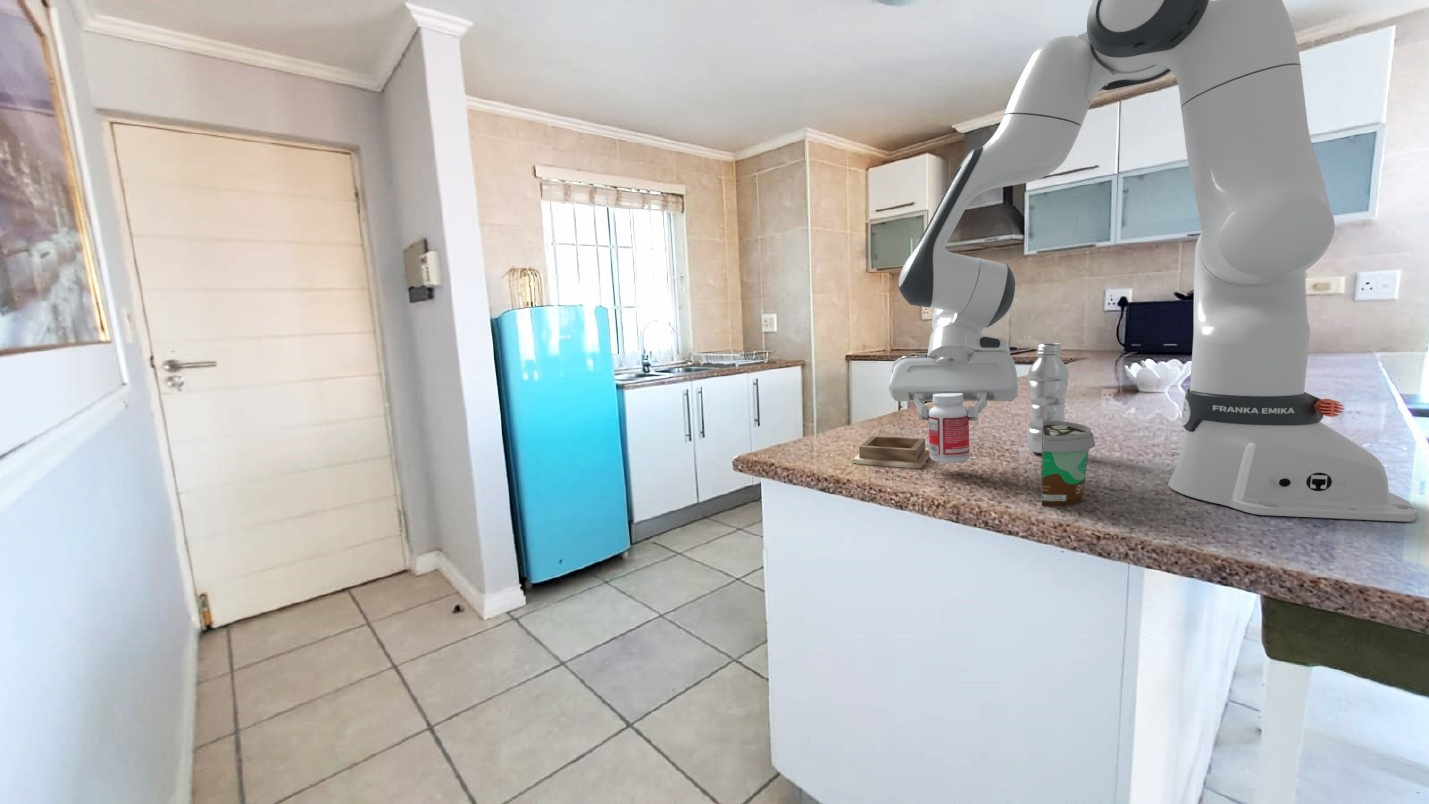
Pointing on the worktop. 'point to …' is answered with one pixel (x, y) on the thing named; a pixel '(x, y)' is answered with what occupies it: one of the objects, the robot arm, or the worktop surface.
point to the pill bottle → (948, 429)
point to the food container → (1064, 462)
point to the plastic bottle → (1046, 392)
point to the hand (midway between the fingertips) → (947, 418)
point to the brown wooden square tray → (893, 452)
